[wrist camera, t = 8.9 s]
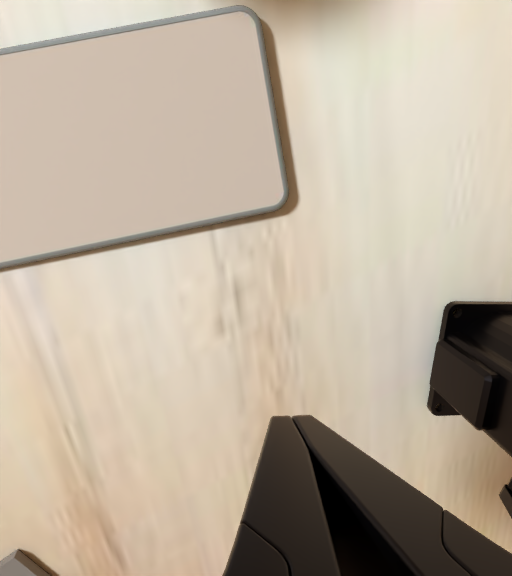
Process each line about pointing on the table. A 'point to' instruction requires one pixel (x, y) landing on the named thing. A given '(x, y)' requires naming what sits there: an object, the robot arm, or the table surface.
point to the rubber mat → (20, 566)
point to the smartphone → (136, 134)
